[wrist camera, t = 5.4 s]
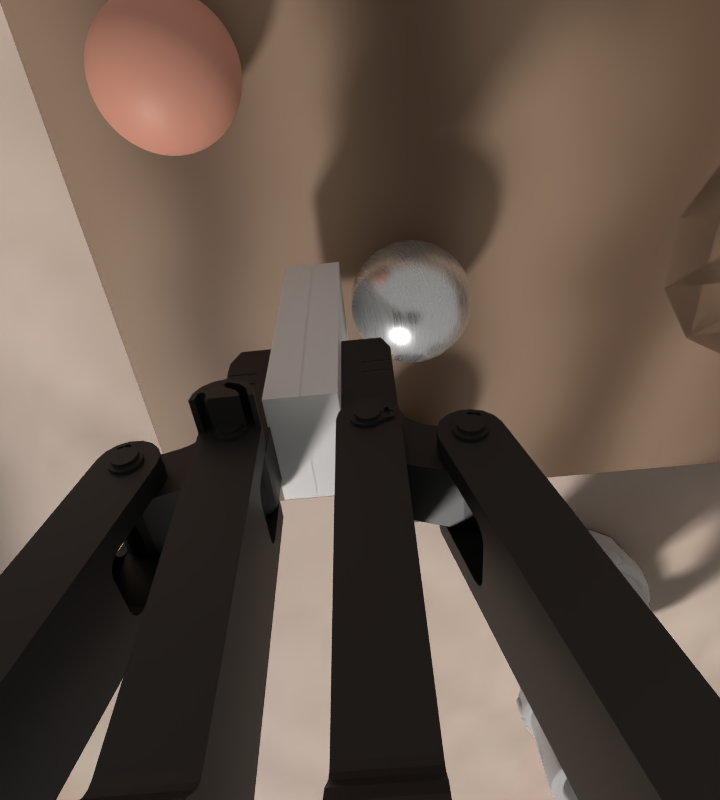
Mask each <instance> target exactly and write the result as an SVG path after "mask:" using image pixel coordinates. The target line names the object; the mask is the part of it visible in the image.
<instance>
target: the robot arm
mask: <svg viewBox="0 0 720 800" xmlns="http://www.w3.org/2000/svg"><path fill="white" fill-rule="evenodd" d="M188 402H189V405H190V408H191V412H192V415H193V418H194V421H195V424H196V427H197V431H198V436H197V439H196V442H195V443H193V444H191V445H189V446H186V447H184V448H181V449H178V450H175V451H171V452H168V453H165V454H160V451H159V448H157V447H156V446H155V445H154V444H153V443H149V442H145V441H133V442H128V443H124V444H121V445H118V446H116V447H114V448H112V449H110V450H108V451H106V452H105V453H104V454H103V455H102V456H101V457H99V458H98V459H97V460H96V461H95V463H94V464H93V465H92V466H91V467H90V469H89V470H88V471H87V472H86V473H85V475H84V476H83V477H82V478H81V479H80V481H79V482H78V483H77V484H76V485H75V487H74V488H73V489H72V490H71V491H70V493H69V494H68V495H67V496H66V497H65V499H64V500H63V501H62V502H61V503H60V505H59V506H58V507H57V508H56V509H55V510H54V512H53V513H52V514H51V515H50V516H49V518H48V519H47V520H46V521H45V522H44V524H43V525H42V526H41V527H40V528H39V530H38V531H37V532H36V533H35V534H34V536H33V537H32V538H31V539H30V540H29V542H28V543H27V544H26V545H25V546H24V548H23V549H22V550H21V551H20V552H19V554H18V555H17V556H16V557H15V558H14V560H13V561H12V562H11V563H10V564H9V566H8V567H7V568H6V569H5V570H4V571H3V573H2V574H1V575H0V800H56V799H57V797H58V795H59V793H60V791H61V790H62V788H63V786H64V784H65V782H66V781H67V779H68V777H69V775H70V773H71V771H72V770H73V768H74V766H75V764H76V762H77V761H78V759H79V757H80V755H81V753H82V751H83V750H84V748H85V746H86V744H87V742H88V741H89V739H90V737H91V735H92V733H93V731H94V730H95V728H96V726H97V724H98V722H99V721H100V719H101V717H102V715H103V713H104V711H105V710H106V708H107V706H108V704H109V702H110V700H111V699H112V697H113V695H114V693H115V691H116V690H117V688H118V686H119V684H120V682H121V680H122V679H123V680H122V683H121V687H120V690H119V693H118V697H117V700H116V703H115V706H114V710H113V713H112V716H111V719H110V723H109V726H108V729H107V732H106V736H105V739H104V742H103V745H102V749H101V752H100V755H99V758H98V762H97V765H96V768H95V772H94V775H93V778H92V781H91V783H90V786H89V788H88V790H87V792H86V793H85V795H84V796H83V797H82V799H80V800H254V794H255V784H256V775H257V765H258V755H259V746H260V736H261V726H262V717H263V707H264V697H265V688H266V678H267V668H268V659H269V649H270V640H271V630H272V620H273V611H274V601H275V591H276V582H277V572H278V562H279V553H280V543H281V533H282V524H283V514H282V508H281V504H280V500H279V498H280V490H281V486H282V490H283V494H284V499H285V500H288V499H299V498H311V497H322V496H334V495H335V498H334V555H333V611H332V667H331V724H330V769H329V779H328V782H327V784H326V786H325V788H324V795H323V800H452V798H451V791H450V785H449V779H448V776H447V773H446V767H445V761H444V753H443V745H442V738H441V730H440V722H439V714H438V706H437V698H436V690H435V683H434V675H433V667H432V659H431V651H430V643H429V636H428V628H427V620H426V612H425V604H424V596H423V588H422V581H421V573H420V565H419V557H418V549H417V541H416V534H415V526H414V520H415V521H421V522H426V523H432V524H438V525H440V530H441V533H442V535H443V537H444V539H445V541H446V543H447V545H448V547H449V549H450V551H451V553H452V555H453V556H454V558H455V560H456V562H457V564H458V566H459V568H460V570H461V572H462V574H463V576H464V578H465V580H466V582H467V584H468V586H469V588H470V590H471V592H472V594H473V596H474V597H475V599H476V601H477V603H478V605H479V607H480V609H481V611H482V613H483V615H484V617H485V619H486V621H487V623H488V625H489V627H490V629H491V631H492V633H493V635H494V637H495V638H496V640H497V642H498V644H499V646H500V648H501V650H502V652H503V654H504V656H505V658H506V660H507V662H508V664H509V666H510V668H511V670H512V672H513V674H514V676H515V678H516V679H517V681H518V683H519V685H520V687H521V689H522V691H523V693H524V695H525V697H526V699H527V701H528V703H529V705H530V707H531V709H532V711H533V713H534V715H535V717H536V719H537V721H538V722H539V724H540V726H541V728H542V730H543V732H544V734H545V736H546V738H547V740H548V742H549V744H550V746H551V748H552V750H553V752H554V754H555V756H556V758H557V760H558V762H559V763H560V765H561V767H562V769H563V771H564V773H565V775H566V777H567V779H568V781H569V783H570V785H571V787H572V789H573V791H574V793H575V795H576V797H577V799H578V800H720V698H719V696H718V695H717V694H716V693H715V691H714V690H713V689H712V687H711V686H710V685H709V684H708V682H707V681H706V680H705V679H704V677H703V676H702V675H701V673H700V672H699V671H698V670H697V668H696V667H695V666H694V665H693V663H692V662H691V661H690V659H689V658H688V657H687V656H686V654H685V653H684V652H683V651H682V649H681V648H680V647H679V645H678V644H677V643H676V642H675V640H674V639H673V638H672V637H671V635H670V634H669V633H668V631H667V630H666V629H665V628H664V626H663V625H662V624H661V623H660V621H659V620H658V619H657V618H656V616H655V615H654V614H653V612H652V611H651V610H650V609H649V607H648V606H647V605H646V604H645V602H644V601H643V600H642V598H641V597H640V596H639V595H638V593H637V592H636V591H635V590H634V588H633V587H632V586H631V584H630V583H629V582H628V581H627V579H626V578H625V577H624V576H623V574H622V573H621V572H620V570H619V569H618V568H617V567H616V565H615V564H614V563H613V562H612V560H611V559H610V558H609V556H608V555H607V554H606V553H605V551H604V550H603V549H602V548H601V546H600V545H599V544H598V543H597V541H596V540H595V539H594V537H593V536H592V535H591V534H590V532H589V531H588V530H587V529H586V527H585V526H584V525H583V523H582V522H581V521H580V520H579V518H578V517H577V516H576V515H575V513H574V512H573V511H572V509H571V508H570V507H569V506H568V504H567V503H566V502H565V501H564V499H563V498H562V497H561V495H560V494H559V493H558V492H557V490H556V489H555V488H554V487H553V485H552V484H551V483H550V481H549V480H548V479H547V478H546V476H545V475H544V474H543V473H542V471H541V470H540V469H539V468H538V466H537V465H536V464H535V462H534V461H533V460H532V459H531V457H530V456H529V455H528V454H527V452H526V451H525V450H524V448H523V447H522V446H521V445H520V443H519V442H518V441H517V440H516V438H515V437H514V436H513V434H512V433H511V432H510V431H509V429H508V428H507V427H506V426H505V424H504V423H503V422H502V421H501V420H500V419H499V418H497V417H496V416H495V415H493V414H491V413H488V412H485V411H482V410H474V409H467V410H458V411H455V412H453V413H450V414H447V415H446V416H445V417H444V418H442V419H441V420H440V421H439V423H438V426H434V425H427V424H422V423H418V422H415V421H413V420H410V419H409V418H407V417H406V416H404V415H403V413H402V412H401V411H400V409H399V406H398V402H397V394H396V386H395V379H394V371H393V363H392V356H391V348H390V346H389V345H388V344H387V343H386V342H385V341H384V340H383V339H382V338H381V337H379V338H368V339H358V340H348V333H347V325H346V317H345V309H344V300H343V292H342V284H341V276H340V268H339V262H334V263H324V264H314V265H304V266H294V267H286V273H285V278H284V283H283V289H282V294H281V299H280V305H279V310H278V315H277V321H276V326H275V331H274V337H273V342H272V347H271V349H268V350H258V351H247V352H241V353H240V354H239V355H238V356H237V357H236V358H235V360H234V361H233V362H232V363H231V364H230V367H229V371H228V374H227V378H226V379H224V380H219V381H214V382H212V383H209V384H207V385H204V386H202V387H201V388H199V389H198V390H197V391H195V392H194V393H193V394H192V395H191V397H190V398H189V400H188ZM122 543H124V544H123V545H122ZM121 545H122V547H121V548H120V546H121ZM119 548H120V550H119V551H118V549H119ZM117 551H118V552H117Z"/></svg>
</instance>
